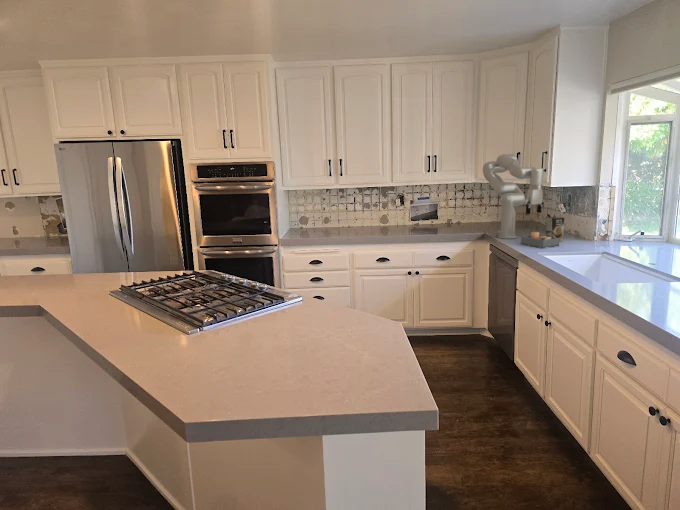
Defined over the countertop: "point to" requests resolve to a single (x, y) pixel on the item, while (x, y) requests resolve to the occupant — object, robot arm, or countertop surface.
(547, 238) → the maple cube
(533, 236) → the terracotta cylinder
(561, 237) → the coffee box
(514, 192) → the robot arm
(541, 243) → the tote
